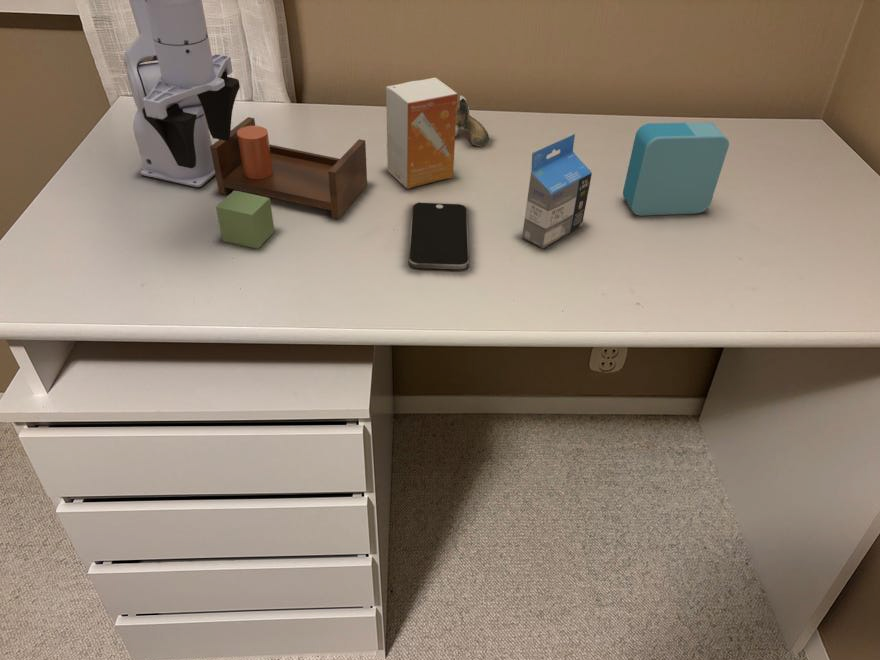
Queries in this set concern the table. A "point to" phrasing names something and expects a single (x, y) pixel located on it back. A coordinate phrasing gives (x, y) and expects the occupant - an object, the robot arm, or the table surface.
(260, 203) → the green block
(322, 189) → the shelf
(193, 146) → the robot arm
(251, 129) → the terracotta cylinder
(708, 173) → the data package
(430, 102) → the small box
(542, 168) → the ink cartridge box
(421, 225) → the smartphone
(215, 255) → the table surface
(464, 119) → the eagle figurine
